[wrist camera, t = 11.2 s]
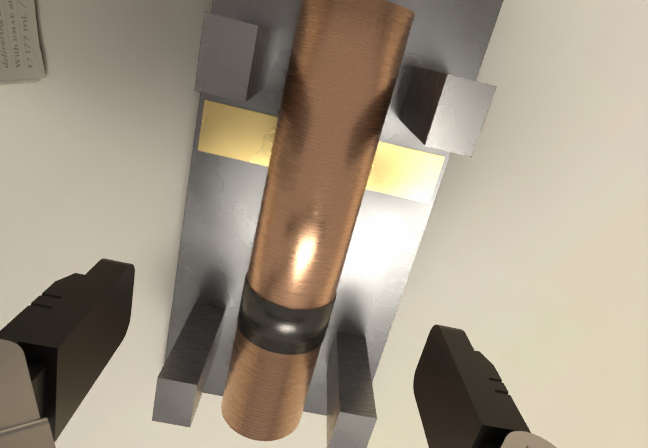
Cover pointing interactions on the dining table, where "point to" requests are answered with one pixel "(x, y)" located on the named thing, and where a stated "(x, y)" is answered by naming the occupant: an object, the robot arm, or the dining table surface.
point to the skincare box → (19, 43)
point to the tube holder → (374, 215)
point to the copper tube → (310, 204)
